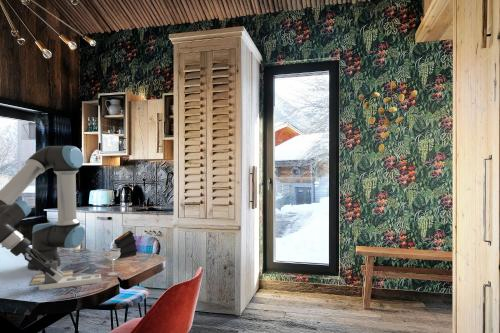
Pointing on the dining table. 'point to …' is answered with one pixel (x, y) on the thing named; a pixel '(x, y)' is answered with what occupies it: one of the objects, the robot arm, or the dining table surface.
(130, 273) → the dining table surface
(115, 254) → the wineglass
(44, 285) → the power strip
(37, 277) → the oak board
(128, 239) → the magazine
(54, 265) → the gray knobbed block
